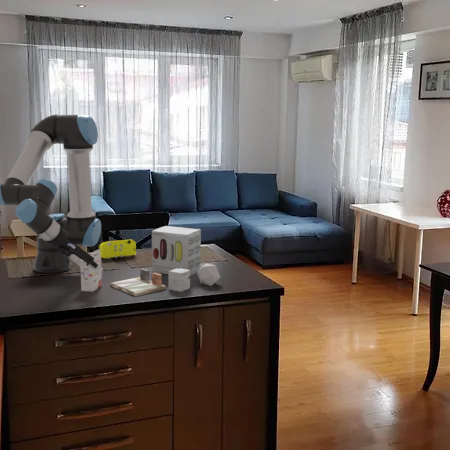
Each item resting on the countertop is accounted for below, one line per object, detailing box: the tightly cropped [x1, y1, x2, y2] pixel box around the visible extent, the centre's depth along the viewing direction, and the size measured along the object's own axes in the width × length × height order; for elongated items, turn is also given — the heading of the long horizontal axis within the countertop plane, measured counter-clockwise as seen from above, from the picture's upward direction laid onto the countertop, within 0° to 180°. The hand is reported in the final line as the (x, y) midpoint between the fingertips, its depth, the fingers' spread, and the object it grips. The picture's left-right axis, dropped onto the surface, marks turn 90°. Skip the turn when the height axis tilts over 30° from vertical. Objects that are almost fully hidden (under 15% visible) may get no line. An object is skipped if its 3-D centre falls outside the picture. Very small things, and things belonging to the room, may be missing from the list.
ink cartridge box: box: [80, 249, 103, 292], centre depth 221 cm, size 9×5×15 cm, turn 168°
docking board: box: [109, 268, 167, 297], centre depth 224 cm, size 17×14×5 cm
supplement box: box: [151, 225, 202, 277], centre depth 247 cm, size 17×13×18 cm
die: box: [196, 263, 221, 287], centre depth 230 cm, size 8×9×10 cm
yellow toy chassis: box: [98, 238, 137, 260], centre depth 272 cm, size 16×6×8 cm, turn 118°
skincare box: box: [168, 268, 191, 293], centre depth 222 cm, size 6×6×7 cm
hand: (91, 267), depth 221 cm, fingers open, 13 cm apart
